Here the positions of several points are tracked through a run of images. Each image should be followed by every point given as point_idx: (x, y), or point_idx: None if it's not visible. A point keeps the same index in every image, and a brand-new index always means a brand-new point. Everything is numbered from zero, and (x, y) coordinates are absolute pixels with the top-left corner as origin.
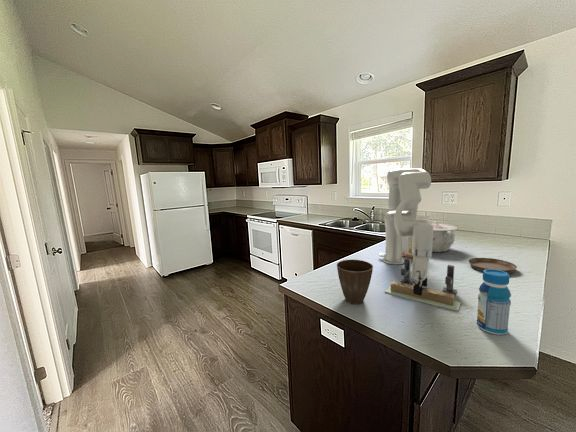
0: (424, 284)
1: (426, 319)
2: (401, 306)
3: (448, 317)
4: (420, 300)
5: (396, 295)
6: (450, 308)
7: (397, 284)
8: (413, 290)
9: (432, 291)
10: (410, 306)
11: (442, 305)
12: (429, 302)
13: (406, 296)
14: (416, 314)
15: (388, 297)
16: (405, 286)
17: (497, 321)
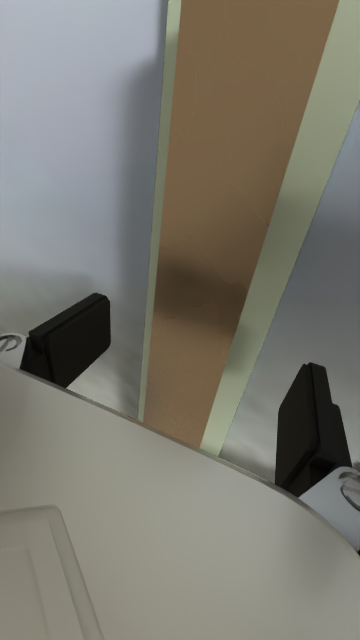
0: (284, 414)
1: (7, 316)
2: (28, 198)
3: (73, 390)
4: (145, 316)
5: (165, 121)
6: (139, 420)
7: (199, 84)
8: (79, 303)
9: (170, 422)
10: (61, 253)
11: (142, 403)
12: (142, 358)
13: (157, 224)
14: (12, 281)
15: (90, 43)
16: (177, 220)
17: None
